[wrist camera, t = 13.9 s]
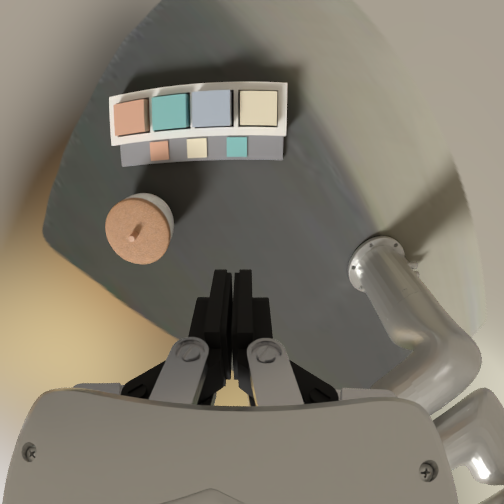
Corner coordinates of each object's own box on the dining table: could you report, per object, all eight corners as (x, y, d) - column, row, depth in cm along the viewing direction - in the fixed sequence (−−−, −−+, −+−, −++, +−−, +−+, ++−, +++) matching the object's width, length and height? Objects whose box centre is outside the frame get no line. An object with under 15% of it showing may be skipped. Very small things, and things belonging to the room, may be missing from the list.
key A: (155, 100, 35) (143, 99, 30) (156, 129, 37) (144, 131, 32) (127, 104, 34) (113, 104, 30) (128, 132, 37) (115, 136, 32)
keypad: (283, 85, 35) (287, 82, 31) (281, 159, 40) (285, 163, 37) (120, 97, 34) (109, 97, 31) (124, 165, 40) (114, 170, 36)
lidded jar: (138, 173, 41) (114, 189, 32) (192, 205, 44) (179, 228, 35) (116, 223, 45) (92, 248, 37) (164, 252, 48) (149, 282, 40)
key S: (232, 93, 33) (230, 89, 29) (232, 124, 36) (230, 125, 31) (198, 94, 33) (191, 91, 29) (199, 125, 36) (192, 127, 31)
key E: (273, 94, 35) (277, 91, 30) (273, 124, 37) (276, 125, 33) (241, 93, 35) (240, 90, 30) (241, 124, 37) (240, 125, 33)
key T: (192, 95, 35) (185, 93, 30) (193, 125, 37) (186, 127, 33) (162, 99, 35) (151, 97, 30) (163, 128, 37) (152, 130, 32)
